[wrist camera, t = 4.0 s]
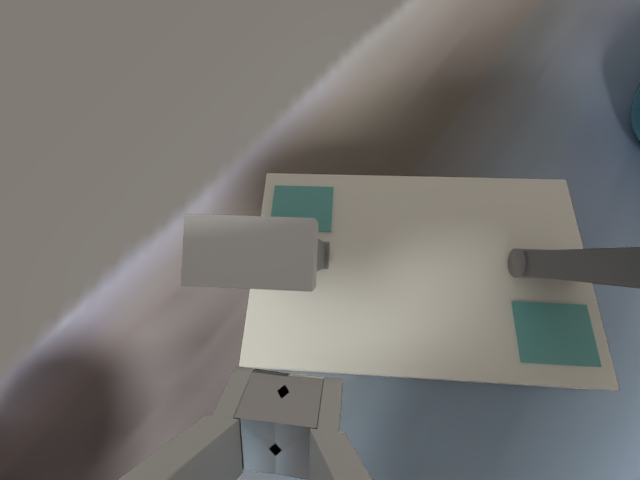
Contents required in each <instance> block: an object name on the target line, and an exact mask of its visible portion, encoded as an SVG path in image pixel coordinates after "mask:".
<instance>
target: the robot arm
mask: <svg viewBox="0 0 640 480" xmlns="http://www.w3.org/2000/svg"><path fill="white" fill-rule="evenodd" d="M342 387H343V380H342V379H338V378H329V377H319V376H310V375H300V374H291V373H289V374H288V373H281V372H274V371H267V370H260V369H251V368H244V367H236V368H235V370H234V371H233V373H232V375H231V377H230V379H229V381H228V383H227V385H226V387H225V389H224V391H223V394H222V396H221V398H220V400H219V402H218V404H217V406H216V408H215V410H214V412H213V415H206V416H204V417H203V418H202V419H200V420H199V421H198V422H196V423H195V424H194V425H192V426H191V427H189V428H188V429H187V430H185V431H184V432H183V433H181V434H180V435H179V436H177V437H176V438H174V439H173V440H172V441H170V442H169V443H168V444H166V445H165V446H163V447H162V448H161V449H159V450H158V451H157V452H155V453H154V454H153V455H151V456H150V457H148V458H147V459H146V460H144V461H143V462H142V463H140V464H139V465H137V466H136V467H135V468H133V469H132V470H131V471H129V472H128V473H127V474H125V475H124V476H122V477H121V478H120V479H118V480H237V479H238V478H239V476H240V475H241V474H242V473H243V470H244V471H253V472H262V473H271V474H278V475H284V476H290V477H295V478H301V479H307V480H372V478H371V476H370V475H369V473H368V471H367V470H366V468H365V466H364V464H363V463H362V461H361V459H360V458H359V456H358V454H357V452H356V451H355V449H354V447H353V446H352V444H351V442H350V440H349V439H348V437H347V435H346V433H341V432H340V418H341V403H342Z"/></svg>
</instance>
